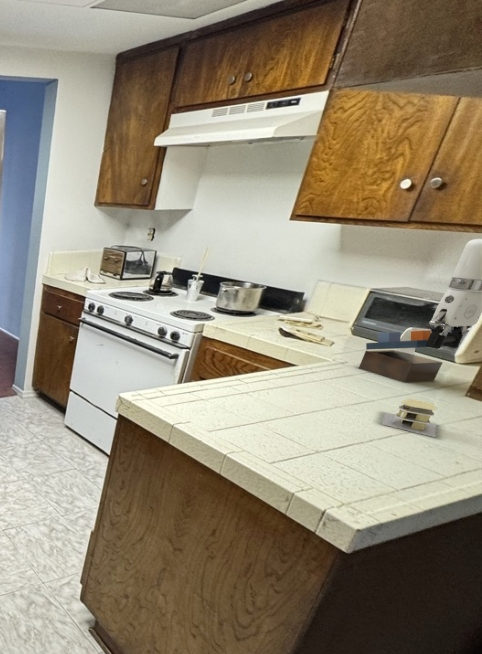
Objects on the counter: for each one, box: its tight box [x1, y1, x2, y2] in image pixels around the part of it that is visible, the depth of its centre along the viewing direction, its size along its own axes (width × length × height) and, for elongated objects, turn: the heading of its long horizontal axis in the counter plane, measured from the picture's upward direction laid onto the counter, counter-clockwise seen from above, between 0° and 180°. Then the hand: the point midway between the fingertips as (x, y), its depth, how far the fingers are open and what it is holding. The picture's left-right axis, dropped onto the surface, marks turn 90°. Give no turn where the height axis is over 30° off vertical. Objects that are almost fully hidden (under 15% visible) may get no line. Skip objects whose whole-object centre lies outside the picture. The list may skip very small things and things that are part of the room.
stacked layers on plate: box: [381, 398, 437, 438], centre depth 113 cm, size 10×9×6 cm
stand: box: [358, 349, 443, 383], centre depth 148 cm, size 13×11×6 cm
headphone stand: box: [395, 326, 431, 355], centre depth 161 cm, size 5×6×12 cm
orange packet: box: [411, 329, 431, 341], centre depth 144 cm, size 3×4×4 cm
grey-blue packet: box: [377, 331, 401, 343], centre depth 148 cm, size 3×4×4 cm
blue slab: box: [365, 336, 456, 351], centre depth 144 cm, size 17×11×3 cm, turn 10°
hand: (441, 346), depth 138 cm, fingers closed on blue slab, 5 cm apart
